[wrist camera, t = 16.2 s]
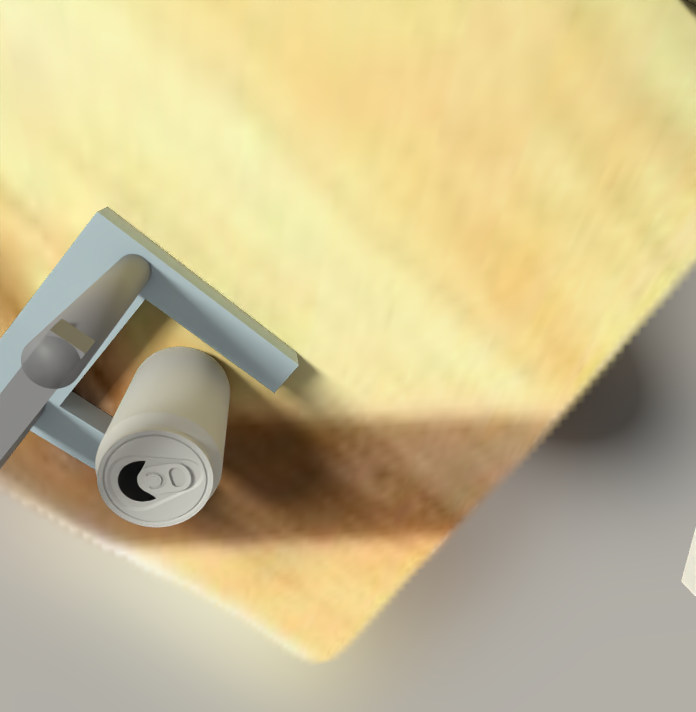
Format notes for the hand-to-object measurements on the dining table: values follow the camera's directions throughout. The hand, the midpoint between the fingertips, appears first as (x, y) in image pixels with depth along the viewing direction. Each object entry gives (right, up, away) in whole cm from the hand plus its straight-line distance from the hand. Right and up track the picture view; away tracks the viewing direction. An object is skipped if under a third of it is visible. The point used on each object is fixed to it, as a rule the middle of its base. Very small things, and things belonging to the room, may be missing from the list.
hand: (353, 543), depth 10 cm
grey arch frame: (-13, +2, +30) cm, 33 cm away
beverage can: (-11, +1, +31) cm, 33 cm away
